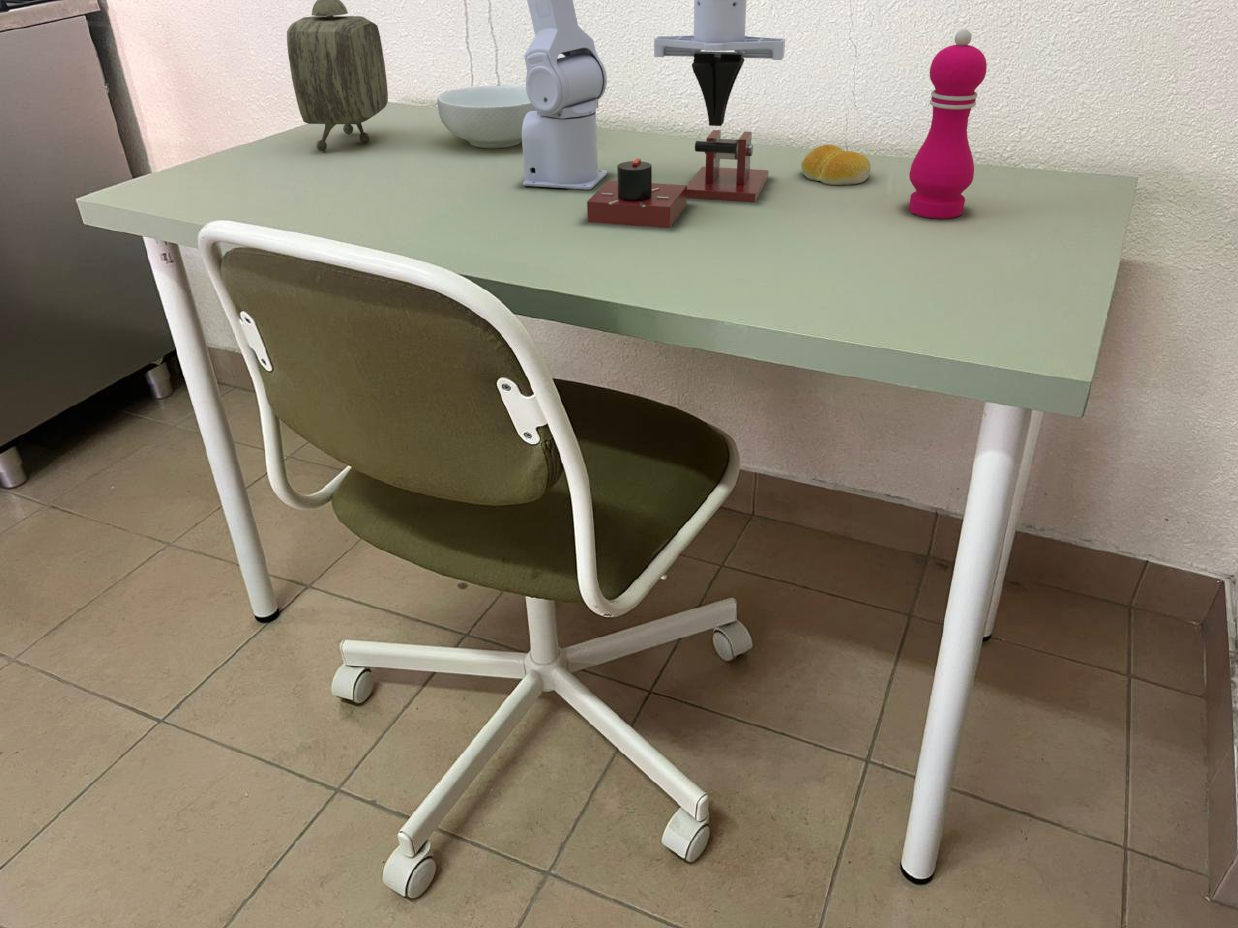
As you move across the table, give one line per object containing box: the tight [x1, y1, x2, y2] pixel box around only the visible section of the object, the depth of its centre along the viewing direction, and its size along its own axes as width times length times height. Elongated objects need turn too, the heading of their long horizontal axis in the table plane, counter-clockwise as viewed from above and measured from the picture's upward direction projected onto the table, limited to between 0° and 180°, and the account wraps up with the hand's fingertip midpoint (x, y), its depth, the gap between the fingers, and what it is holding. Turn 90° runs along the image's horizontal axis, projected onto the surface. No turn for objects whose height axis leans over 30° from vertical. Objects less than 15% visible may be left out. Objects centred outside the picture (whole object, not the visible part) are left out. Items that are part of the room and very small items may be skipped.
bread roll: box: [800, 144, 872, 186], centre depth 126 cm, size 8×9×4 cm
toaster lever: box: [694, 138, 739, 161], centre depth 118 cm, size 11×5×2 cm, turn 164°
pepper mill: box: [908, 29, 988, 220], centre depth 109 cm, size 7×7×20 cm
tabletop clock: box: [286, 0, 389, 152], centre depth 142 cm, size 14×9×25 cm, turn 172°
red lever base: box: [686, 129, 769, 203], centre depth 122 cm, size 11×9×7 cm
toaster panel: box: [586, 180, 688, 229], centre depth 114 cm, size 10×10×3 cm
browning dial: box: [616, 158, 653, 201], centre depth 112 cm, size 4×4×4 cm
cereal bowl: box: [436, 85, 537, 149], centre depth 145 cm, size 17×17×7 cm
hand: (716, 124), depth 111 cm, fingers closed
